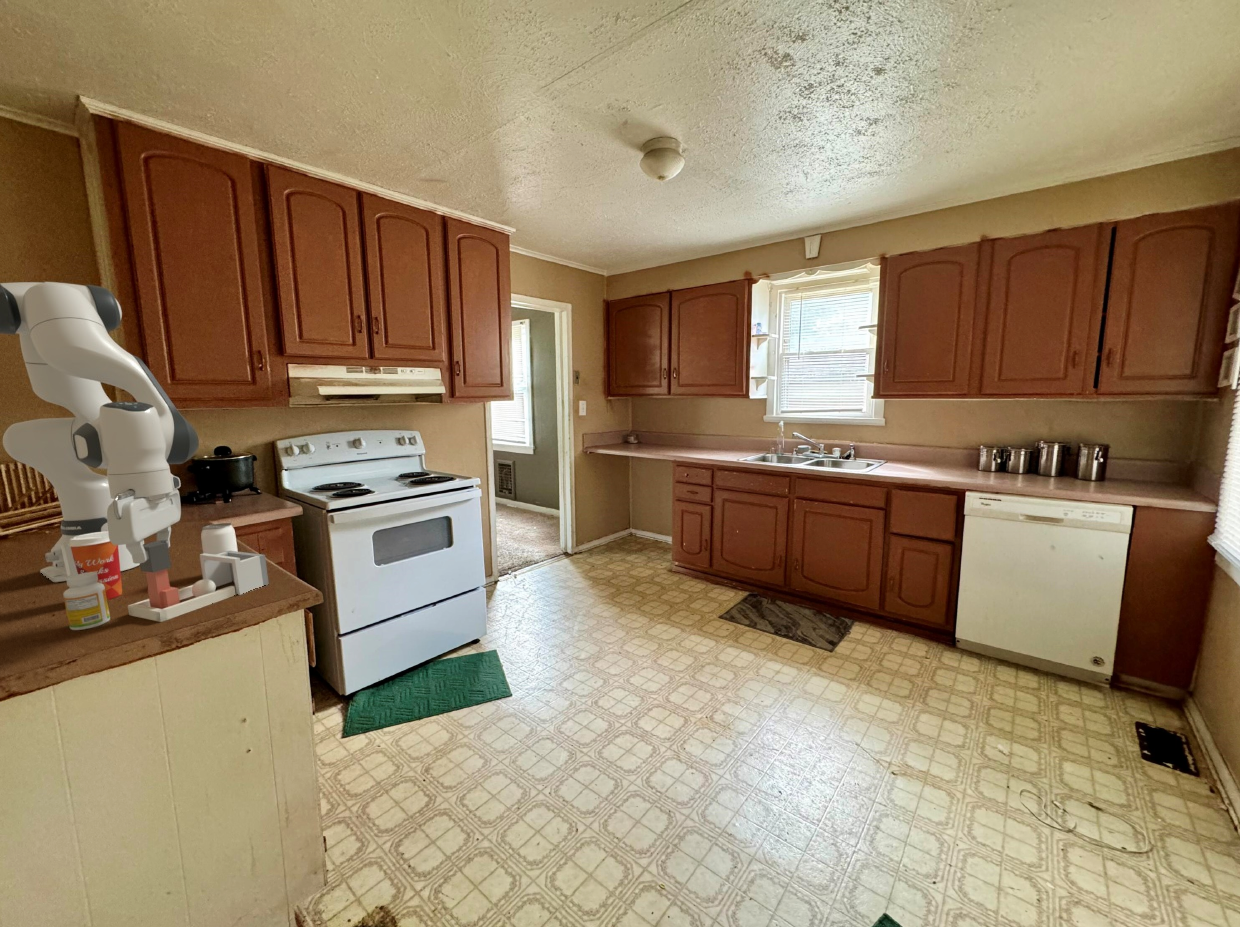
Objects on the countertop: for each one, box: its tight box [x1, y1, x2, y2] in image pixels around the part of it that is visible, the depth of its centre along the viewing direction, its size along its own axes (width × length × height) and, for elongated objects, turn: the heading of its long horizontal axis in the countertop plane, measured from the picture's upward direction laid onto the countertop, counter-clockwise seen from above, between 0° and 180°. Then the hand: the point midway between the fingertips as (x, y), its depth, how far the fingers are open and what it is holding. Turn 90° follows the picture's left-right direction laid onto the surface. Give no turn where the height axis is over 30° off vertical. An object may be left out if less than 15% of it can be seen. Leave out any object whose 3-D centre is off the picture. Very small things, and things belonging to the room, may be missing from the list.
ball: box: [192, 578, 217, 598], centre depth 107 cm, size 4×4×4 cm
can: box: [200, 522, 239, 555], centre depth 122 cm, size 6×6×12 cm
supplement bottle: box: [62, 572, 111, 631], centre depth 95 cm, size 5×5×10 cm
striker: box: [139, 541, 181, 609], centre depth 100 cm, size 6×3×14 cm, turn 69°
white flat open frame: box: [127, 584, 237, 623], centre depth 104 cm, size 10×13×2 cm
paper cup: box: [68, 531, 123, 601], centre depth 109 cm, size 8×8×14 cm
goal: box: [199, 551, 270, 596], centre depth 113 cm, size 12×6×8 cm, turn 69°
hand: (152, 555), depth 99 cm, fingers open, 8 cm apart
